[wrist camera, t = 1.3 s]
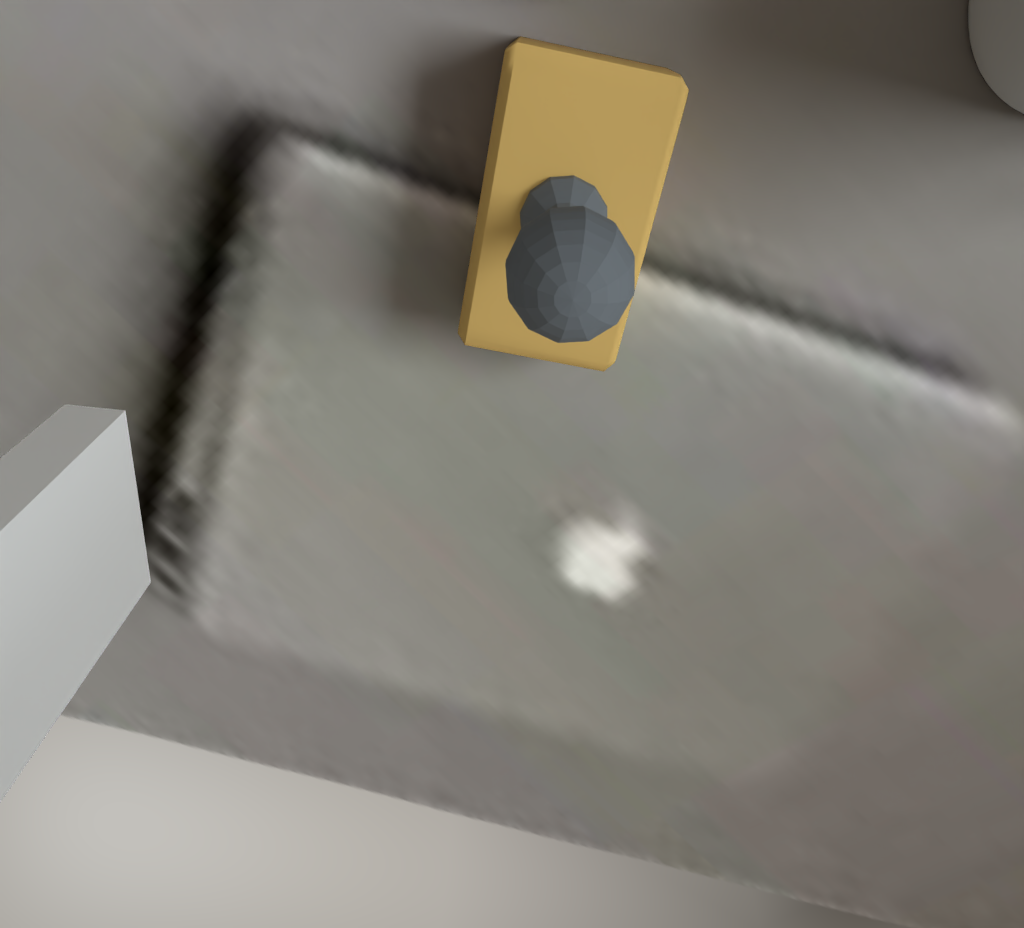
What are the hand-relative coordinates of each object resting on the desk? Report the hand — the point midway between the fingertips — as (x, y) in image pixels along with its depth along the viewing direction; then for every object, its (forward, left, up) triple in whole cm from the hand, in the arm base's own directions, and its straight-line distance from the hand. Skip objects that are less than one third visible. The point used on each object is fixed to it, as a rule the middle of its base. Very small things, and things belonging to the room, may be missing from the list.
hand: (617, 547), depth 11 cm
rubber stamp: (0, 0, -22) cm, 22 cm away
